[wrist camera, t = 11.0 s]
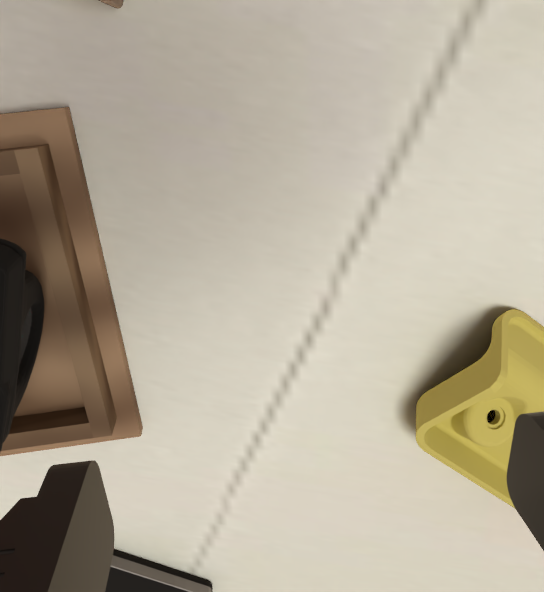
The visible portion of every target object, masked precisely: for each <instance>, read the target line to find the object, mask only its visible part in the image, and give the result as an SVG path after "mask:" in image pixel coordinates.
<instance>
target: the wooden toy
mask: <svg viewBox="0 0 544 592" xmlns="http://www.w3.org/2000/svg"><path fill="white" fill-rule="evenodd" d="M99 1H101V2H103V3H106V4H108V5H110V6H113V7H115V8H120V7H121V6H122V4H123V0H99Z"/></svg>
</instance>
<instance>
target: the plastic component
mask: <svg viewBox="0 0 544 592" xmlns="http://www.w3.org/2000/svg"><path fill="white" fill-rule="evenodd" d="M491 410H494V411H495V418H494V420H493V421H492V422H489V423H488V421H487V414H488V413H489V412H490V411H491ZM543 411H544V327H543V326H541V325H540V324H539V323H537V322H536V321H535V320H533V319H532V318H531V317H529V316H528V315H527V314H526V313H524V312H522V311H519V310H516V309H511V310H508V311H506V312H505V313H503V314H502V315H500V316H499V317H498V318H497V319H496V320H495V322H494V324H493V327H492V339H491V344H490V346H489V348H488V350H487V352H486V353H485V354H484V355H483V357H482V358H481V359H479V360H478V361H477V362H475V363H474V364H472V365H470V366H469V367H467V368H465V369H464V370H462V371H460V372H459V373H457V374H455V375H454V376H452V377H450V378H449V379H447V380H445V381H444V382H442V383H440V384H439V385H437V386H435V387H434V388H432V389H430V390H429V391H427V392H425V393H424V394H423V395H422V396H421V397H420V399H419V400H418V402H417V405H416V441H417V443H418V445H419V446H420V448H422V449H423V450H424V451H425V452H427V453H428V454H430V455H431V456H433V457H434V458H436V459H438V460H439V461H441V462H442V463H444V464H446V465H447V466H449V467H450V468H452V469H453V470H455V471H457V472H458V473H460V474H461V475H463V476H465V477H466V478H468V479H469V480H471V481H472V482H474V483H476V484H477V485H479V486H480V487H482V488H484V489H485V490H487V491H488V492H490V493H491V494H493V495H495V496H496V497H498V498H499V499H501V500H503V501H504V502H506V503H507V504H509V505H510V506H512V507H514V505H513V503H512V500H511V498H510V495H509V492H508V487H507V469H508V463H509V457H510V451H511V445H512V439H513V433H514V427H515V422H516V419H517V417H518V416H519V415H520V414H525V413H534V412H543ZM514 508H515V507H514ZM515 509H516V508H515Z"/></svg>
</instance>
